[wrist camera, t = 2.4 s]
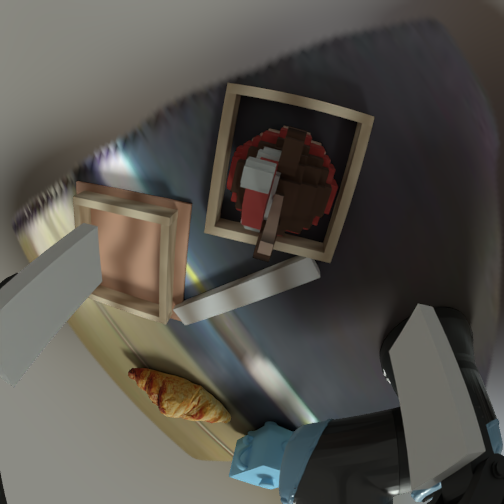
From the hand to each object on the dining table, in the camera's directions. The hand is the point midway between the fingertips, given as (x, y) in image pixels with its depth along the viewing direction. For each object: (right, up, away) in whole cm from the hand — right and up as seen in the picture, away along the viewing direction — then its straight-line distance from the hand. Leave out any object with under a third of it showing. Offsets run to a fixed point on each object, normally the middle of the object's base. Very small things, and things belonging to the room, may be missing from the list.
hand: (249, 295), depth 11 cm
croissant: (-13, -24, +41) cm, 49 cm away
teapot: (+6, -35, +43) cm, 55 cm away
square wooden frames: (-7, +6, +24) cm, 25 cm away
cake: (+4, +10, +20) cm, 23 cm away
